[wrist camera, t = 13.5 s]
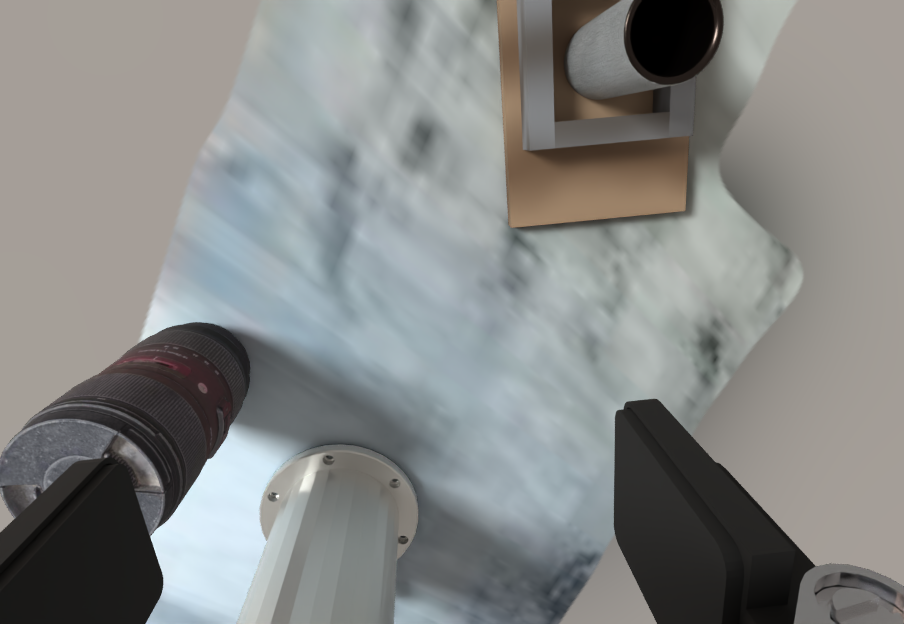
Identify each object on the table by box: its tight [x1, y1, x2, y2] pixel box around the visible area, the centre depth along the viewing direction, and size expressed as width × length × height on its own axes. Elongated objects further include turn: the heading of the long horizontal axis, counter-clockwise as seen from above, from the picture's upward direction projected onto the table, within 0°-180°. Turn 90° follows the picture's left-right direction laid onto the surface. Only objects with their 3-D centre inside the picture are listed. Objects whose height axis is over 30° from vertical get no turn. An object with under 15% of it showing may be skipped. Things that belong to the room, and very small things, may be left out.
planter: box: [564, 0, 724, 100], centre depth 28 cm, size 4×4×10 cm
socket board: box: [497, 0, 696, 228], centre depth 32 cm, size 20×12×4 cm, turn 5°
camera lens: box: [0, 322, 250, 536], centre depth 32 cm, size 8×8×15 cm
